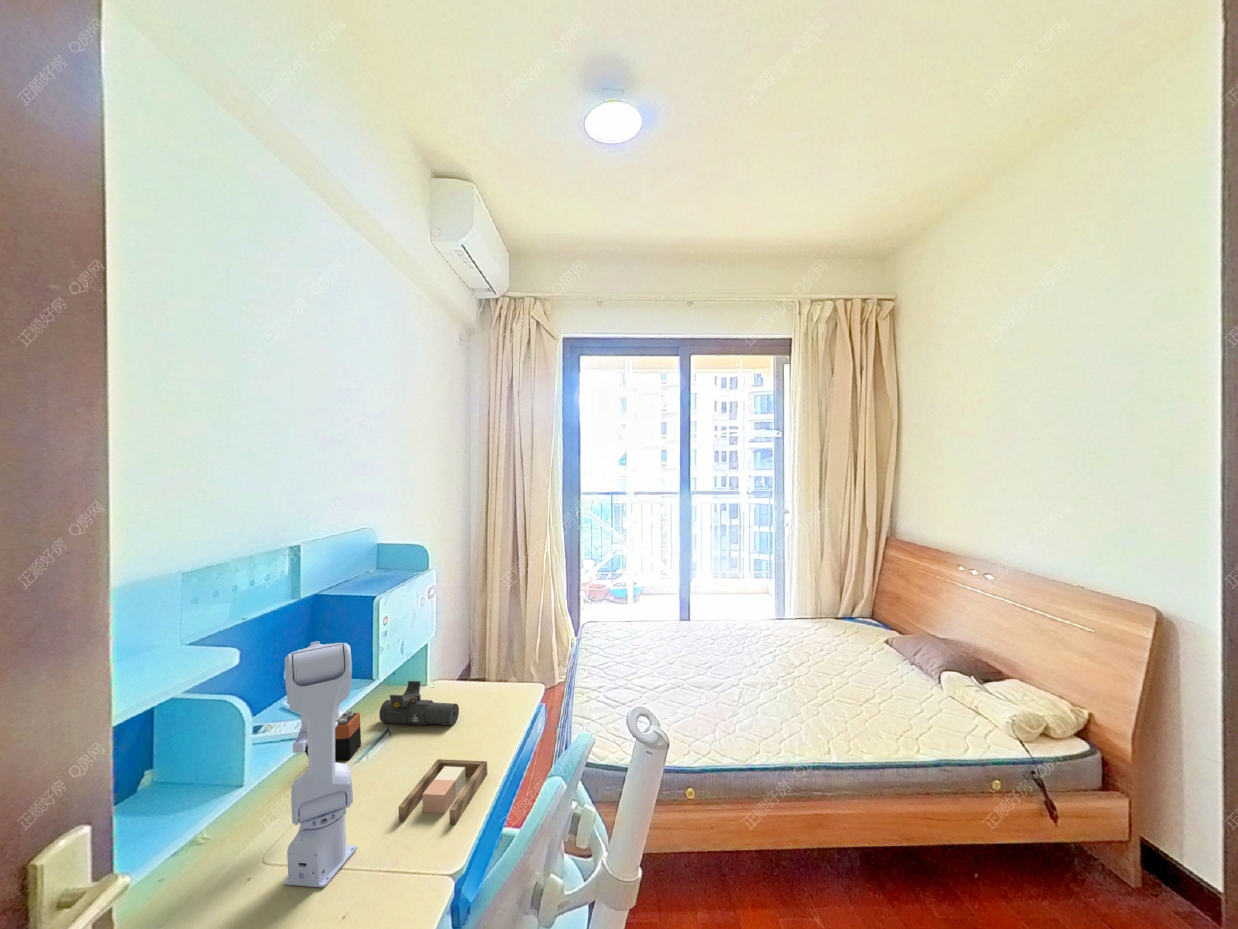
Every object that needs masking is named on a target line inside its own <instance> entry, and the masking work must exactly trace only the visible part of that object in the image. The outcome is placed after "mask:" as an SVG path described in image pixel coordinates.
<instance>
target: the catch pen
mask: <svg viewBox="0 0 1238 929" xmlns="http://www.w3.org/2000/svg"><path fill="white" fill-rule="evenodd" d="M444 766H449V767H465V777H470V778H469V780H468V781H467V783H466V784H465V786H464V787H463V788H462V790H461V791H460V793H459V794H458V796H457V797H456V799H455V800H454V801H453V803H452V804H451V806H450V807H449V825H457V823H458V822H459V821H460V818H461V816H462V815H463V813H464V812H465V810H466V809H467V807H468V805H469V804H470V802H471V801H472V799H473V798H474V796H475V794H476V793H477V791H478V790H479V788H480V786H481V785H482V783H483V782H484V780H485V778H486V777H487V775H488V760H464V759H463V760H462V759H461V760H460V759H437V760H435V762H434V763H433V764H432V766H431V767H430V768H429V769H428V771H427V772H426V773H425V774H424V775H423V776H422V778H421V779H420V780H419V782H417V784H416V785H415V786H414V787H413V788H412V790H411V791H410V792H409V793H408V794H407V795H406V797H405V798H404V799H403V800H402V802H401V803H400V804H399V806H398V821H399V822H405V821H406V820H407V819H408V817H409V816H410V815H411V814H412V812H413V811H414V810H415V808H416V807H417V806H418V805H419V803H420V802H421V801H422V800H423V793H424V791H425V790H426V789H427V788H428V786H429V785H430V784H431V783H432V781H433V780H434V779H435V778H436V776H437V775H438V774H439V773H440V771H441V770H442V769H443V768H444Z"/></svg>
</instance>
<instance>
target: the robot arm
mask: <svg viewBox="0 0 1238 929" xmlns="http://www.w3.org/2000/svg"><path fill="white" fill-rule="evenodd" d="M309 644H310V645H309V646H307V647H305V648H302V649H297V650H295V651H291V653H288V654H287V656H286V657H284V671H285V672H284V676H285V691H286V701H287V702H286V703H287V705H288V706H289V711H291V712H295V713H298V714H300V722H301V723H300V724H301V727H300V729H299V731H298V734H297V737H296V739H295V741H294V742H292V753H293V754H300V753H304V752H305V754H306V756H307V762H308V763H307V765H308V769H307V770H306V771H305V772H303V773H302V774H301V775H299V776H297V778H295V779H294V780H293V781H292V782H293V783H292V785H291V791H290V792H291V793H290V796H291V797H290V798H291V799H290V800H291V803H290V804H291V823H292V824H293V825H294V826H298V825H299V828H298V831H297V833H296V835H295V836H294V837H293V839H292V841H291V842H290V843H289V845H288V846H287V850H286V852H287V853H286V855H287V856H286V857H287V876H288V877H287V878H285V880H284V881H283V883H284V885H286V886H297V887H298V886H300V887H312V888H313V887H314V888H325V887H326V886H327V884H328V883H329V882H330V881H331V880H332V879H333V878H334V877H335V876H336V875H337V873H338V872H339V871H340V870H341V869H342V867H343V866H344V864H346V863H347V861H348V860H349V859H350V858H351V856H352V855H353V854H354V853H355V851H356V850H357V849H358V848H357V847H358V846H357V845H352V844H351V845H350V844H347V834H346V833H347V832H346V828H347V827H346V815H347V808H350V807H351V806H352V803H353V802H354V796H353V794H354V792H353V782H352V781H353V780H352V772H351V767H350V766H349V764H347V763H343V762H338V761H335V732H336V729H335V728H336V727H337V726H338V722H336V721H337V720H338V719H339V718H340V709H339V707H340V705H341V703H343V702H344V701H345V700H346V699H348V698H349V697H350V695H351V694H350V693H351V689H352V674H353V663H352V662H353V661H352V659H353V658H352V653H351V645H350V644H348V643H347V642H344V643H343V642H335V643H326V644H322V643H320V641H319V640H318V641H313V642H310V643H309Z"/></svg>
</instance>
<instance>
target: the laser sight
mask: <svg viewBox="0 0 1238 929" xmlns="http://www.w3.org/2000/svg"><path fill="white" fill-rule="evenodd" d="M407 682H408V683H407V688H406V690H405V691H404V693H403V694H390V695H389V699H386V700H385V701H383V703H382V704H381V707H380V709H379V715H378V716H379V720H380V721H381V722H382V723H389V724H391V725H406V726H407V725H409V726H424V727H425V726H429V725H443V726H455V725H456V723H457V722H458V719H459V714H460V707H459V704H458V703H449V702H447V703H446V702H434V701H433V699H421V697H422V696H421V693H420V689H421V683H422V682H421V680H409V681H407Z"/></svg>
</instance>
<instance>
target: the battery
mask: <svg viewBox="0 0 1238 929" xmlns="http://www.w3.org/2000/svg"><path fill="white" fill-rule="evenodd" d="M335 722H338V726H337V727H336V728H335V729H336V732H335V762H338V761H339V760H340V761H349V760H348V759H350V758H351V759H352V758H353V756H354V755H355V754H356V753H357V751H358V750H359V749H360V748H361V746H362V738H361V736H362V735H361V734H362V733H361V713H360V712H353V710H350V711H347V712H345V713H343V714H342V715H341V716H339V717H338V718H337V719H336V721H335ZM359 747H360V748H359ZM358 748H359V749H358ZM357 749H358V750H357ZM356 750H357V751H356ZM355 752H356V753H355ZM354 753H355V754H354ZM353 754H354V755H353ZM351 759H350V760H351Z"/></svg>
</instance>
